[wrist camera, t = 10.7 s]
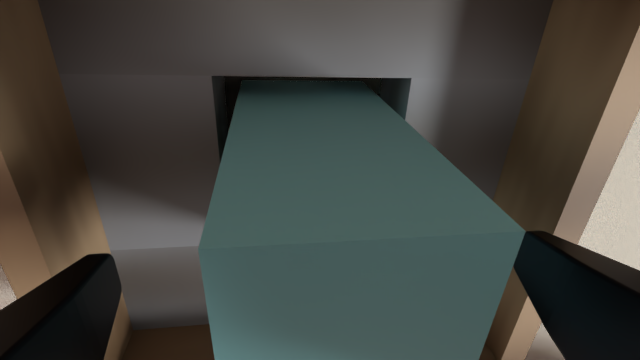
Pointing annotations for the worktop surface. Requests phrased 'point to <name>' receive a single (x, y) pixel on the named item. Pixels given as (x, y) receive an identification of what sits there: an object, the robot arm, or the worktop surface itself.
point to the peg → (346, 234)
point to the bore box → (288, 61)
